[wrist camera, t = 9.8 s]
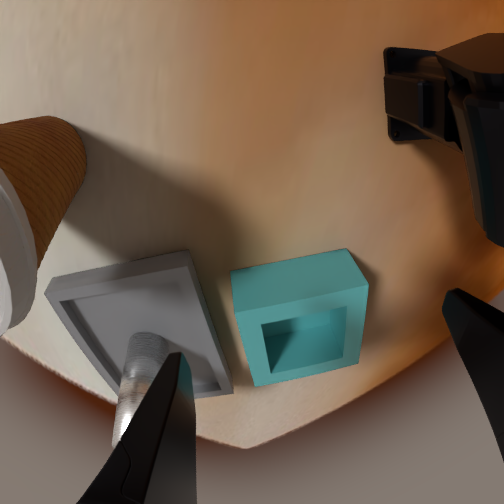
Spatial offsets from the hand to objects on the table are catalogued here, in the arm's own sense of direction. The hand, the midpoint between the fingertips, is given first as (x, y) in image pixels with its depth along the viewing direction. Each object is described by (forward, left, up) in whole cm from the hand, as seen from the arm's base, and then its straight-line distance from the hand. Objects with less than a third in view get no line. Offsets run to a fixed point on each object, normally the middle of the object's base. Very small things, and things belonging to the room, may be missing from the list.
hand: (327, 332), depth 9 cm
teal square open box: (-1, +11, -13) cm, 17 cm away
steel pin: (+12, +12, -12) cm, 21 cm away
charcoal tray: (+12, +12, -13) cm, 21 cm away
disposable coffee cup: (+14, -5, -13) cm, 20 cm away
